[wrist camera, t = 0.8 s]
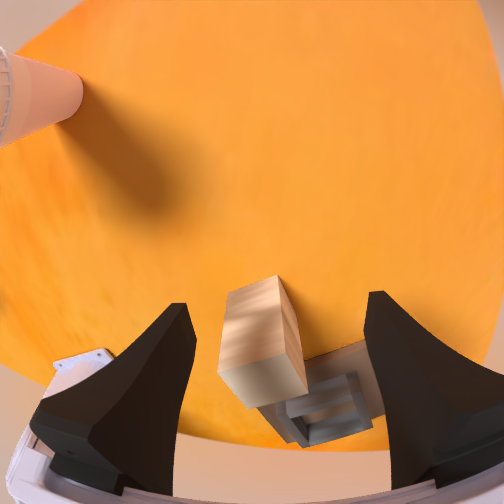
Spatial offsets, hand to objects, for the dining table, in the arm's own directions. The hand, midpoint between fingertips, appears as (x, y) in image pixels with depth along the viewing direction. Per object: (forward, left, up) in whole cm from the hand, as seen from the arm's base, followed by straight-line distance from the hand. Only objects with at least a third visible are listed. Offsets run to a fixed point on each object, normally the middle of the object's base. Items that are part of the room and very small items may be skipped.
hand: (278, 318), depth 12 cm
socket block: (-2, -20, -10) cm, 22 cm away
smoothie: (-9, +15, -10) cm, 20 cm away
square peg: (-3, -6, -10) cm, 12 cm away
